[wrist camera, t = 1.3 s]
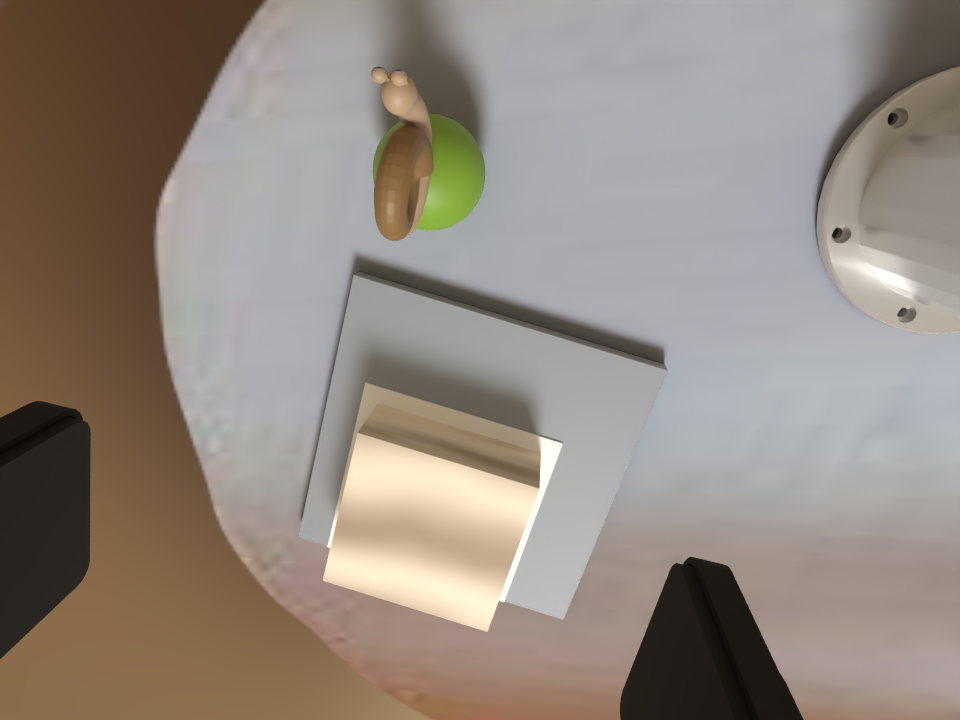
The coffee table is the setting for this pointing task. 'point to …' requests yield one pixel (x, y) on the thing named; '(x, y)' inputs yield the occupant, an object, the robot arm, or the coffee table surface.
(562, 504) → the board
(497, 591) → the pedestal block
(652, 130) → the coffee table surface
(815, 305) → the coffee table surface
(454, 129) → the snail figurine
